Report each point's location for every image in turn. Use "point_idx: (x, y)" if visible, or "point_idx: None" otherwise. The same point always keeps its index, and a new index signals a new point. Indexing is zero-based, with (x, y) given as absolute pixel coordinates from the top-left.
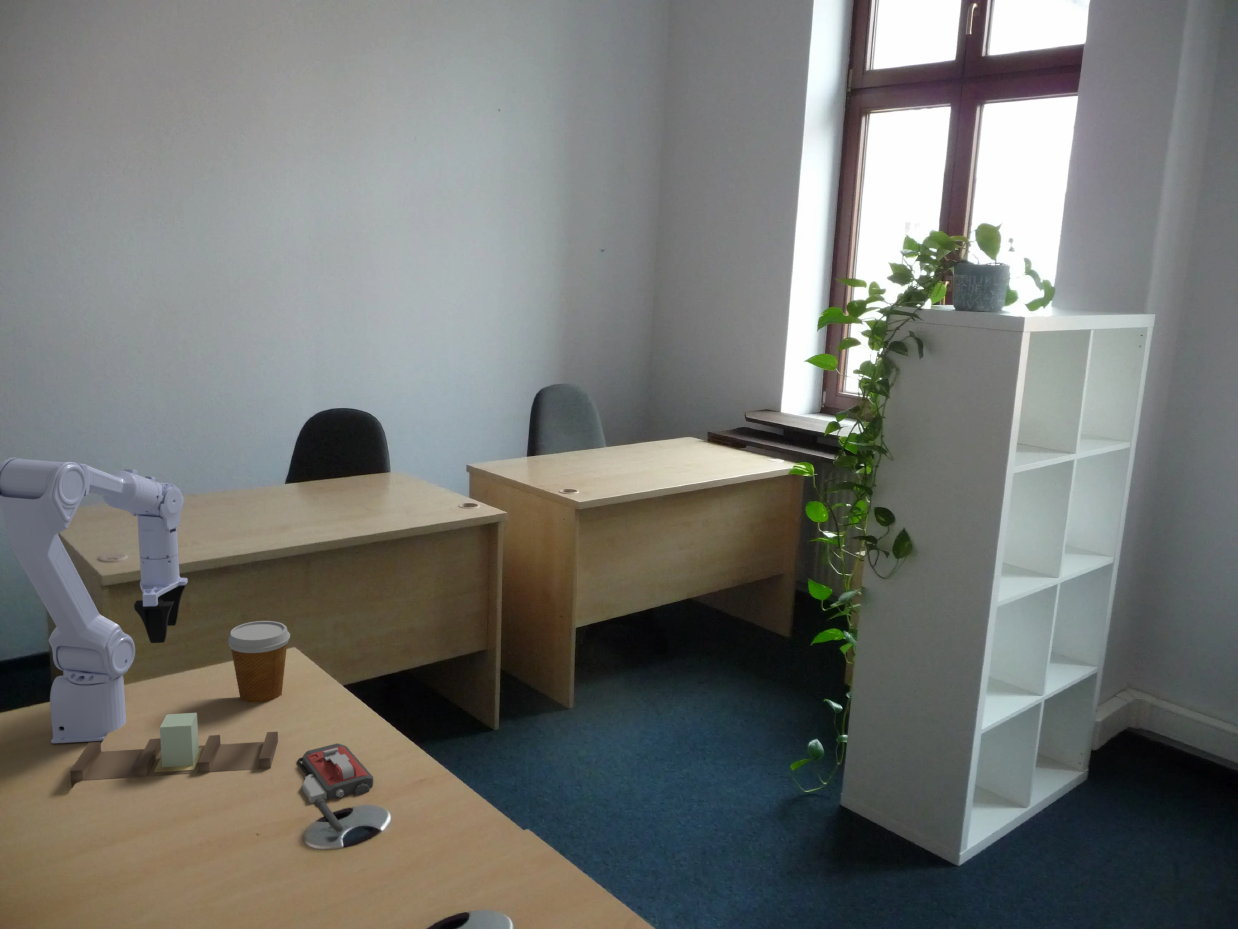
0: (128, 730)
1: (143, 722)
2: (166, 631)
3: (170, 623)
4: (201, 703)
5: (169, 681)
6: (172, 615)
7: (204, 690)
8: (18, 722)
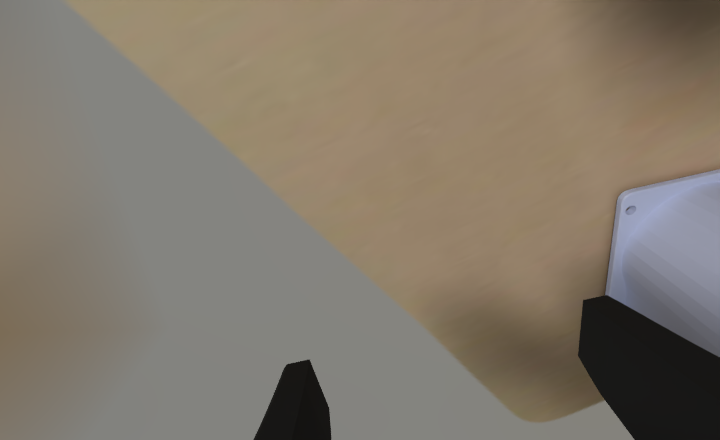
0: (705, 167)
1: (660, 150)
2: (656, 338)
3: (316, 390)
4: (543, 9)
5: (348, 214)
6: (306, 435)
7: (419, 53)
8: (583, 400)
